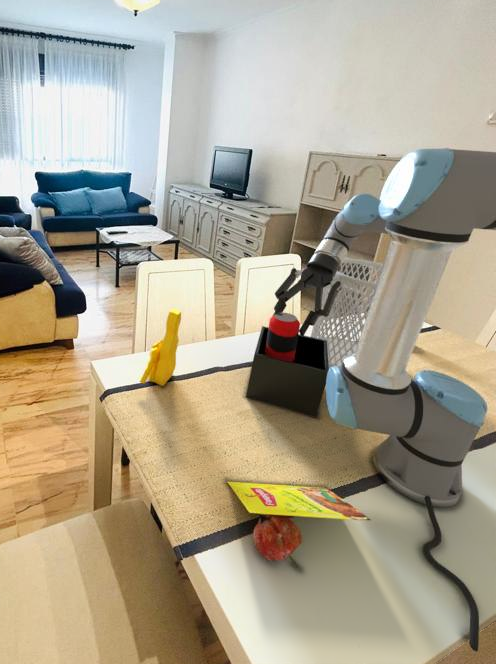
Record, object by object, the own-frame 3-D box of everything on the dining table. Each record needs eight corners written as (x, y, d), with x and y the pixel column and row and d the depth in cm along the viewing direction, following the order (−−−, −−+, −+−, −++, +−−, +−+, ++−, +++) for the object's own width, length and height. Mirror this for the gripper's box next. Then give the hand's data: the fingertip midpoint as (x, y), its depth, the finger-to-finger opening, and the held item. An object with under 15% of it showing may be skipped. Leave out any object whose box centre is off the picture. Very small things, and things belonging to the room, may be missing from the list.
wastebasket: (408, 375, 118) (443, 284, 106) (341, 383, 112) (371, 288, 100) (349, 336, 140) (373, 257, 128) (290, 341, 134) (310, 259, 122)
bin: (316, 417, 97) (329, 373, 92) (245, 397, 103) (254, 354, 98) (315, 380, 112) (327, 340, 107) (254, 364, 119) (262, 326, 113)
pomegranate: (294, 551, 67) (259, 497, 70) (325, 552, 62) (286, 493, 65) (270, 583, 63) (234, 524, 66) (301, 587, 58) (260, 522, 60)
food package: (372, 517, 63) (249, 509, 63) (372, 524, 62) (249, 516, 62) (325, 485, 78) (226, 478, 78) (325, 491, 77) (226, 484, 78)
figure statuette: (162, 360, 118) (168, 294, 109) (186, 369, 114) (194, 301, 106) (133, 390, 103) (137, 317, 95) (159, 401, 100) (166, 326, 92)
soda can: (277, 347, 110) (283, 308, 106) (300, 359, 104) (307, 319, 99) (258, 354, 106) (264, 314, 102) (281, 367, 100) (287, 325, 96)
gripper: (366, 277, 103) (326, 348, 99) (294, 257, 117) (256, 319, 113) (364, 262, 98) (322, 336, 94) (289, 243, 111) (249, 307, 107)
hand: (286, 327), depth 103 cm, fingers closed on soda can, 7 cm apart
